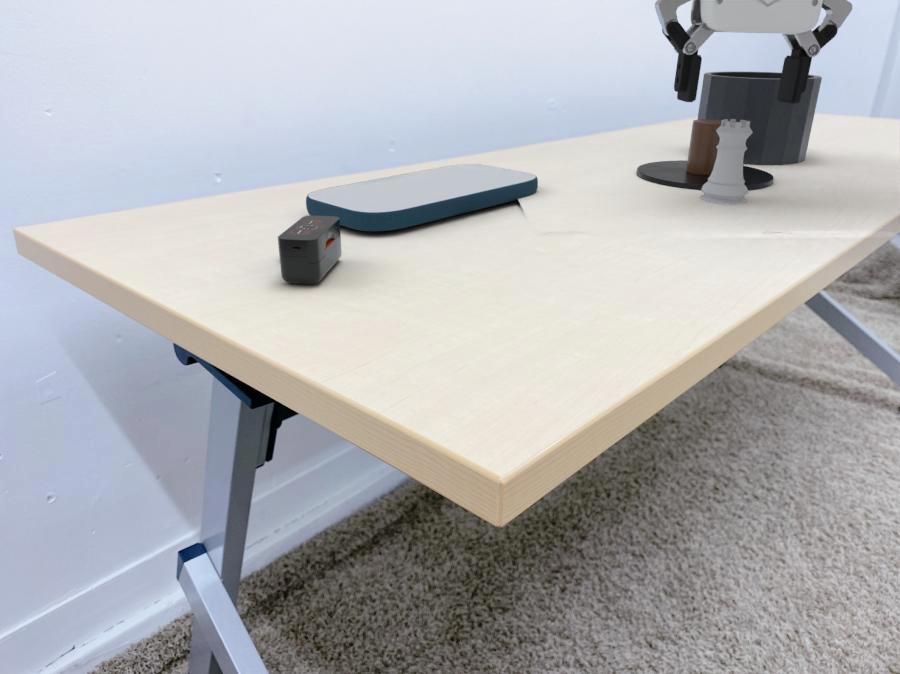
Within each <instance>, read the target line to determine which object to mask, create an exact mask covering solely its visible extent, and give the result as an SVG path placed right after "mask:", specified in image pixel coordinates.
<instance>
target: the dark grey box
mask: <svg viewBox="0 0 900 674" xmlns="http://www.w3.org/2000/svg"><path fill="white" fill-rule="evenodd" d="M341 237H342V235H341V225H340V218H339V217H335V216H311V215H305V216H302V217H301V218H299V219H298V220H297V221H296V222H295V223H293V224H292V225H290V226H289V227H288V228H287V229H286V230H285V231H283V232H282V233H281V234H279V235H278V236H277V245H278V255H279V266H280V267H279V268H280V276H281V278H282V280H283V282H285V283H288V284H294V285H295V284H297V285H299V284H300V285H316V284H318V283H319V282H321V280H322V279H323V278H324V277H325V276H326V274H327V273H328V272H329V271H330V270H331V269H332V268H333V267H334V266H335V265H336V263H337V262H339V260H340V259H341V257H342V254H343V253H342V238H341Z"/></svg>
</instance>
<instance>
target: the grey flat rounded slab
mask: <svg viewBox="0 0 900 674" xmlns="http://www.w3.org/2000/svg"><path fill="white" fill-rule="evenodd" d="M538 186H539V181H538V177H537V175H535V174H534V173H530V172H525V171H522V170H521V171H520V170H515V169H510V168H504V167H497V166H493V165H486V164H477V163H475V164H474V163H473V164H472V163H471V164H470V163H465V164H464V163H463V164H462V163H461V164H452V165H446V166H439V167H435V168H434V167H433V168H429V169H425V170H418V171H414V172H408V173H402V174H397V175H392V176H386V177H381V178H376V179H369V180H365V181H359V182H354V183H347V184H342V185H337V186H331V187H327V188H322V189H318V190H313V191H311V192H310V193H308V194H307V195H306V197H305V206H306V211H307V213H308V215H309V216H335V217H339V218H340V226H342V227H344V228H348V229H352V230H356V231H363V232H386V231H394V230H400V229H405V228H409V227H413V226H417V225H422V224H426V223H429V222H434V221H437V220H442V219H445V218H446V219H447V218H450V217H453V216H458V215H462V214H465V213H470V212H473V211H478V210H482V209H484V208H485V209H486V208H490V207H494V206H497V205H501V204H506V203H510V202H513V201H517V200H519V199H523V198H525V197H529V196H532V195H534V194H536V193H537V191H538Z"/></svg>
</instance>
